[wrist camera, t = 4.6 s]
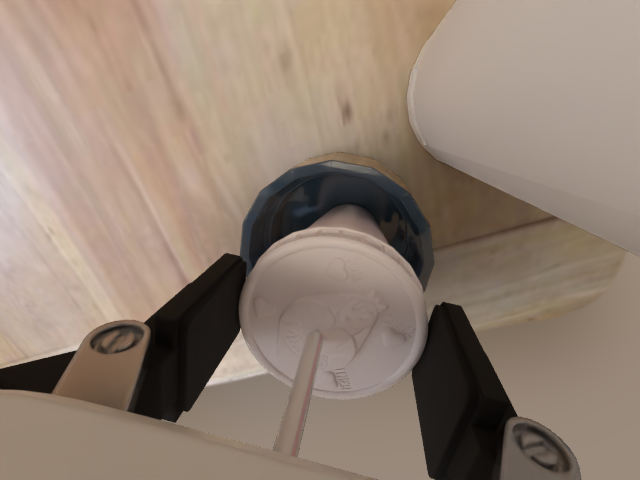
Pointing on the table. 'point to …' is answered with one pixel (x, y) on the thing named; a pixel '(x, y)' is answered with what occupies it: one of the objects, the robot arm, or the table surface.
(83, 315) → the table surface
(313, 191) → the bowl
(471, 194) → the table surface
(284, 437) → the smoothie
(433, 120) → the bottle
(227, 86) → the table surface
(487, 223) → the table surface
